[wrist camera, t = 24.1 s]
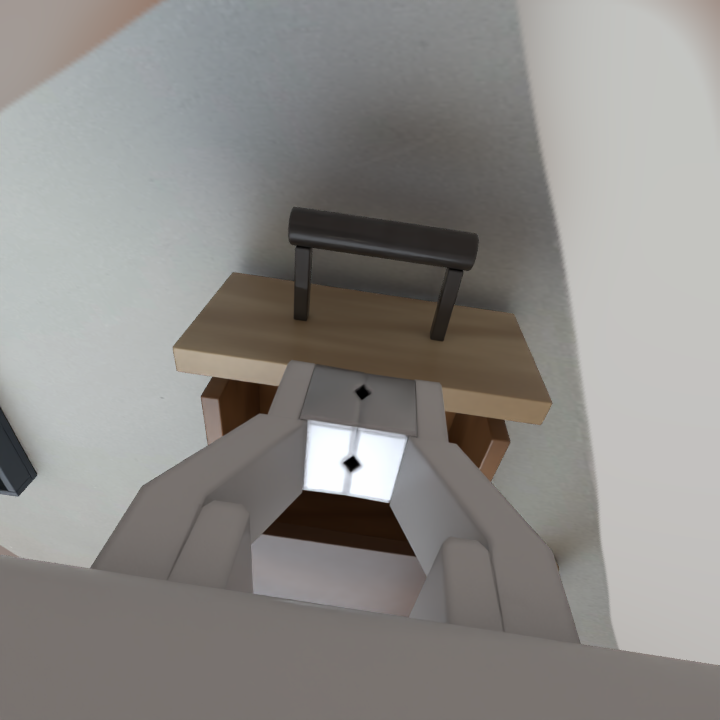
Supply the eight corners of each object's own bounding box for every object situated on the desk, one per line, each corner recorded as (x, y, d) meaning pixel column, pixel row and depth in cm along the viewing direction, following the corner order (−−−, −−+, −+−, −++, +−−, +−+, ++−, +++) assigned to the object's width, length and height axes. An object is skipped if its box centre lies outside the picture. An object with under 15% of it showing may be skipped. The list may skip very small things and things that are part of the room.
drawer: (225, 172, 18) (148, 221, 13) (550, 220, 18) (614, 290, 13) (245, 459, 29) (209, 550, 24) (445, 488, 29) (454, 586, 24)
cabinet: (238, 406, 28) (182, 522, 21) (467, 440, 28) (489, 567, 21) (248, 533, 37) (212, 643, 30) (420, 559, 37) (424, 674, 30)
